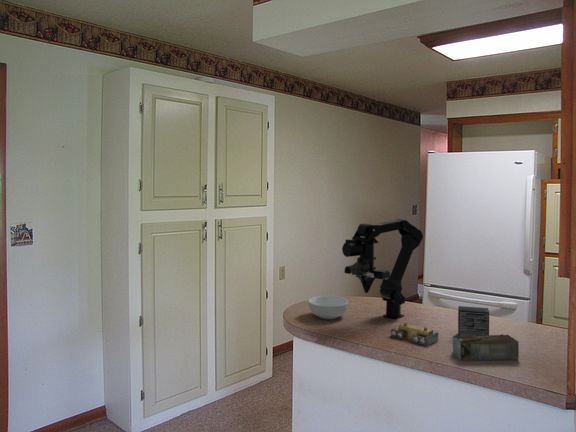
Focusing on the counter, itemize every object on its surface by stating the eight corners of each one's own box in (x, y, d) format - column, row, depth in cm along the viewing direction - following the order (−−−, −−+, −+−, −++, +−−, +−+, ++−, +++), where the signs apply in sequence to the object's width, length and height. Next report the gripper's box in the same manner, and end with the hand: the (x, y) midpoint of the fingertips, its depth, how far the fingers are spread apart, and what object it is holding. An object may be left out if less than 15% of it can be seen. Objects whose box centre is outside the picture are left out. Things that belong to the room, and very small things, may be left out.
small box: (487, 335, 174) (488, 307, 173) (489, 340, 167) (490, 312, 167) (457, 332, 177) (458, 305, 176) (458, 337, 171) (458, 309, 170)
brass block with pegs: (403, 334, 175) (403, 320, 175) (432, 342, 167) (433, 327, 167) (398, 336, 173) (398, 322, 173) (428, 344, 165) (428, 329, 164)
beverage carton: (451, 352, 157) (451, 333, 157) (508, 352, 157) (509, 332, 157) (459, 361, 149) (460, 341, 149) (520, 361, 149) (520, 340, 149)
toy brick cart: (402, 331, 179) (402, 323, 178) (439, 340, 168) (439, 332, 168) (389, 336, 172) (389, 328, 172) (427, 346, 162) (427, 338, 162)
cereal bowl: (300, 316, 199) (300, 300, 199) (327, 309, 211) (327, 293, 210) (329, 325, 187) (329, 307, 186) (356, 316, 198) (356, 300, 197)
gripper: (336, 254, 190) (336, 292, 191) (374, 259, 177) (374, 300, 178) (352, 251, 198) (352, 287, 199) (390, 256, 185) (390, 295, 186)
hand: (366, 292), depth 190 cm, fingers closed
